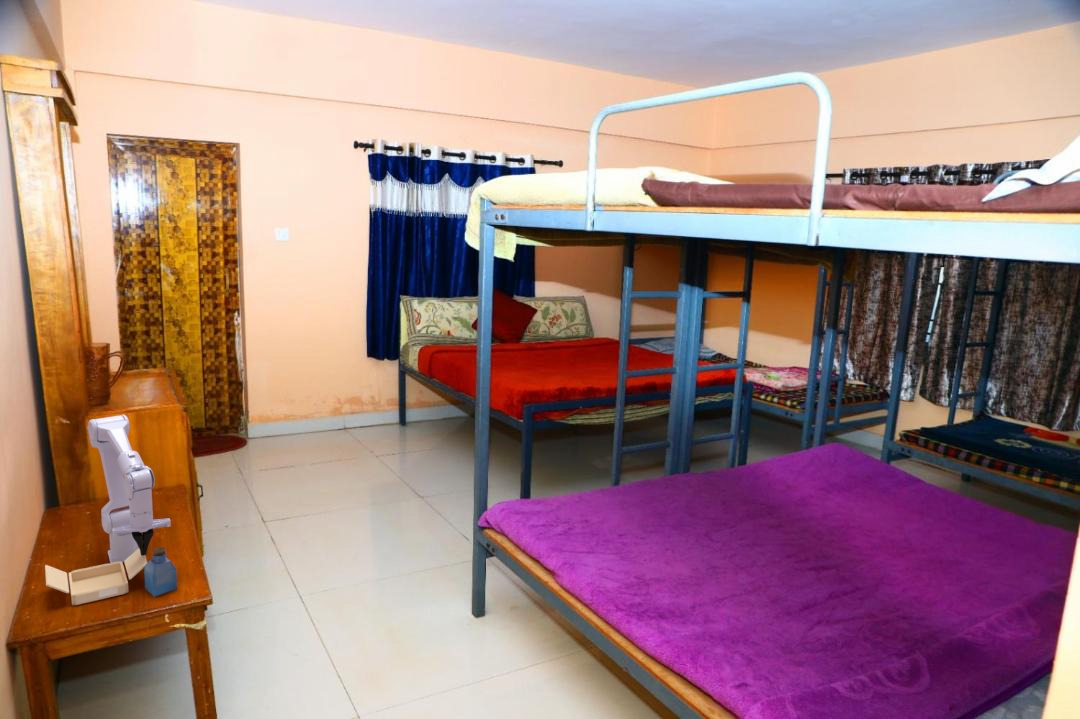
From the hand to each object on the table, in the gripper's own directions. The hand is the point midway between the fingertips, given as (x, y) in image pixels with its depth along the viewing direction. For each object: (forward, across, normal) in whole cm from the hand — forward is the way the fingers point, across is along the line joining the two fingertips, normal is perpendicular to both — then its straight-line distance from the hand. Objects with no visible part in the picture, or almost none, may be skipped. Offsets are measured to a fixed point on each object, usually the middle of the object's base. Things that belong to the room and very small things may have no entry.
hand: (143, 553), depth 202 cm
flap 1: (+4, -18, 0) cm, 19 cm away
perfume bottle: (+8, +3, -9) cm, 12 cm away
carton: (+8, -12, 0) cm, 14 cm away
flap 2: (+4, -5, 0) cm, 6 cm away
